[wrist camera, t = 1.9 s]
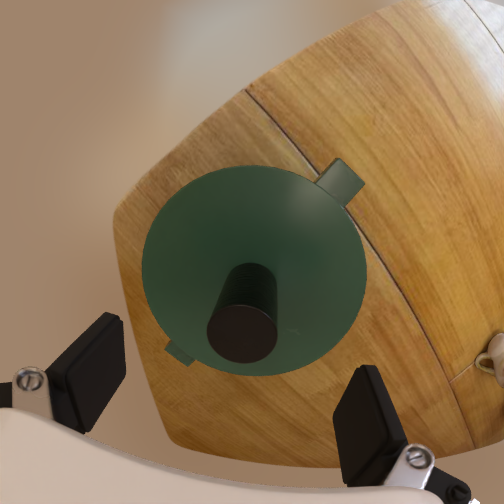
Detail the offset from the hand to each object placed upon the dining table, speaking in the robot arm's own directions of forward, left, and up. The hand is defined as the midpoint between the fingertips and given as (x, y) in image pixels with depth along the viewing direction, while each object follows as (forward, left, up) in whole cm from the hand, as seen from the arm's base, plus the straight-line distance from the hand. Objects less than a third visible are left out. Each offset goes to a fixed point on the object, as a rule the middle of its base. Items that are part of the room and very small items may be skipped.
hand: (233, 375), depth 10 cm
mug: (+38, +12, -18) cm, 44 cm away
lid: (0, 0, -9) cm, 9 cm away
